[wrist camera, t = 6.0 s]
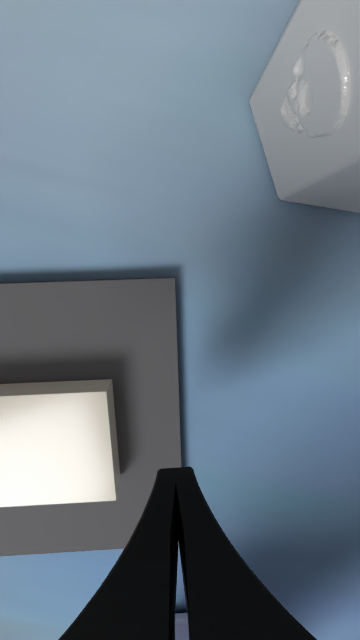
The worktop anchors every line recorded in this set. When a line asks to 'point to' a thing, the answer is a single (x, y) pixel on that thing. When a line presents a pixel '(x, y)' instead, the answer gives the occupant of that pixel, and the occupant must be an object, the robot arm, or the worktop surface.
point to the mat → (96, 364)
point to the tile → (58, 443)
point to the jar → (314, 106)
